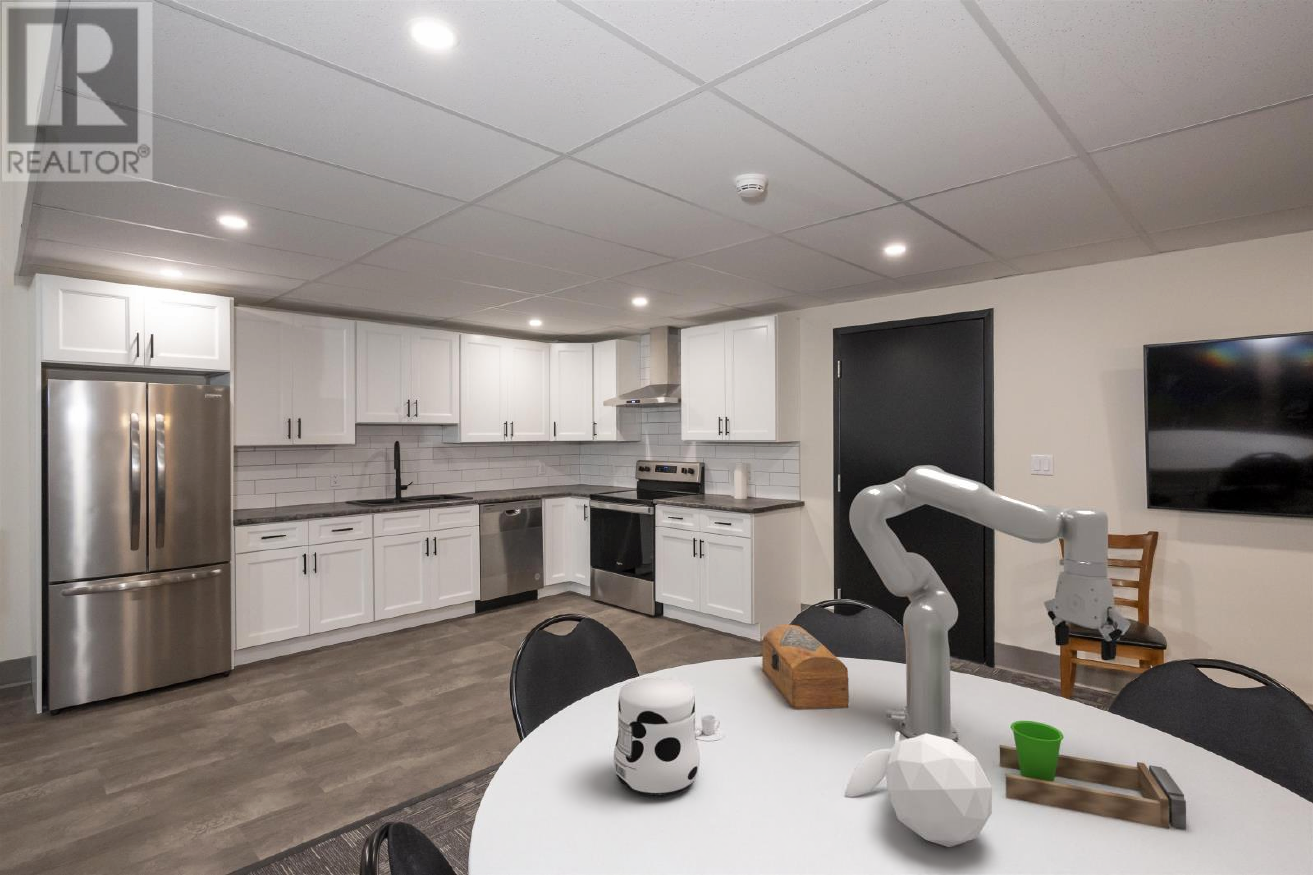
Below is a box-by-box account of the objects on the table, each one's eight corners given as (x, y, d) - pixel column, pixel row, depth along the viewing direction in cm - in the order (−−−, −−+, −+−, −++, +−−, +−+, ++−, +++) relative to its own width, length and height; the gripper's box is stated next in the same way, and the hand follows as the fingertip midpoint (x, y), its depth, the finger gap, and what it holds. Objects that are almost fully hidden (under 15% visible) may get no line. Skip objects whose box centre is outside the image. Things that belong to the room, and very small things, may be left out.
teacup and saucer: (683, 738, 149) (683, 721, 149) (694, 725, 156) (694, 708, 156) (719, 745, 145) (719, 727, 146) (729, 731, 153) (729, 713, 153)
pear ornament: (976, 741, 103) (899, 680, 131) (866, 829, 101) (811, 748, 129) (1035, 823, 103) (946, 744, 131) (926, 912, 101) (859, 813, 129)
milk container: (709, 767, 135) (709, 681, 135) (685, 811, 118) (685, 712, 119) (632, 754, 140) (632, 671, 141) (599, 794, 124) (599, 700, 124)
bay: (1006, 797, 123) (1006, 769, 123) (999, 763, 136) (999, 738, 136) (1189, 832, 112) (1188, 801, 112) (1162, 791, 125) (1161, 763, 125)
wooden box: (758, 670, 194) (758, 624, 194) (812, 669, 195) (811, 623, 196) (786, 711, 164) (786, 656, 164) (849, 709, 166) (849, 654, 166)
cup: (1072, 800, 122) (1071, 742, 122) (1020, 795, 124) (1019, 738, 124) (1053, 777, 131) (1052, 722, 131) (1004, 772, 132) (1004, 718, 133)
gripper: (1034, 562, 139) (1033, 641, 139) (1116, 578, 123) (1115, 668, 123) (1058, 560, 142) (1057, 638, 142) (1141, 576, 126) (1141, 663, 126)
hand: (1084, 651), depth 132 cm, fingers open, 9 cm apart
